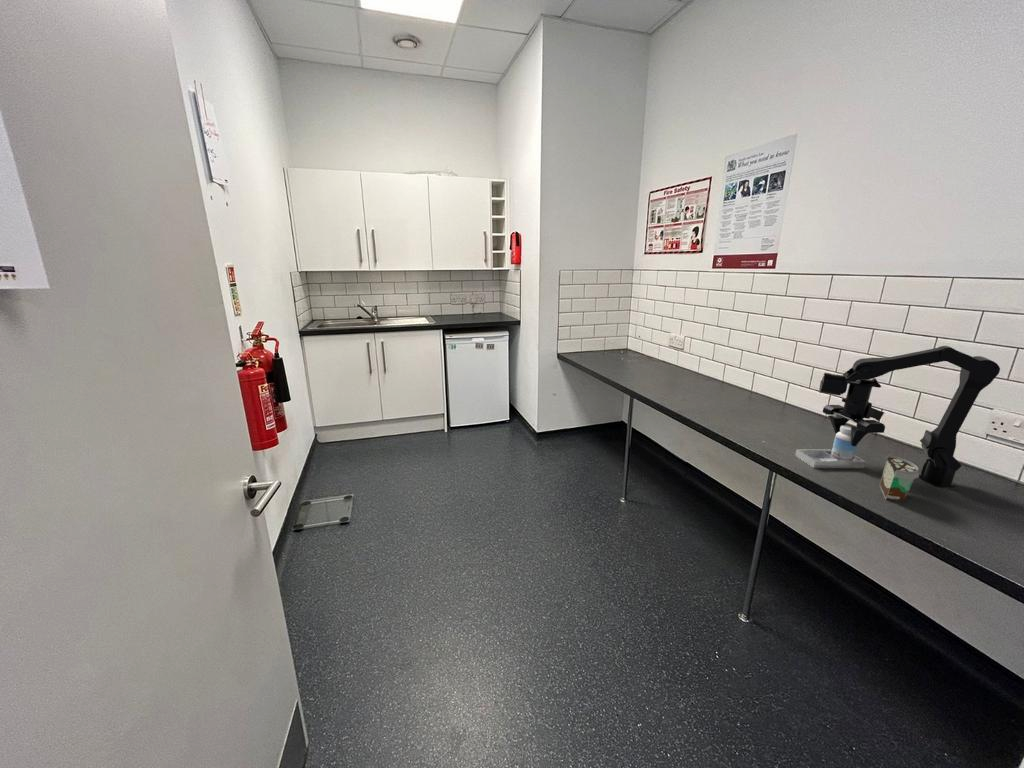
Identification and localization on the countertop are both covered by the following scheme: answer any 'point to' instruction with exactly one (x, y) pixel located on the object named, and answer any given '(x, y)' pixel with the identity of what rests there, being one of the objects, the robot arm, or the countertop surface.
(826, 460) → the grey tray
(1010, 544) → the countertop surface
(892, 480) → the food container
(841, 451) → the pill bottle
